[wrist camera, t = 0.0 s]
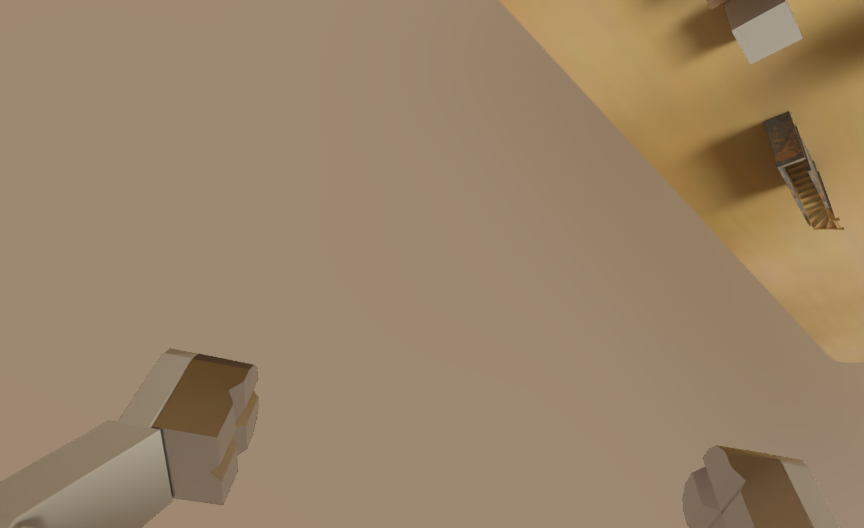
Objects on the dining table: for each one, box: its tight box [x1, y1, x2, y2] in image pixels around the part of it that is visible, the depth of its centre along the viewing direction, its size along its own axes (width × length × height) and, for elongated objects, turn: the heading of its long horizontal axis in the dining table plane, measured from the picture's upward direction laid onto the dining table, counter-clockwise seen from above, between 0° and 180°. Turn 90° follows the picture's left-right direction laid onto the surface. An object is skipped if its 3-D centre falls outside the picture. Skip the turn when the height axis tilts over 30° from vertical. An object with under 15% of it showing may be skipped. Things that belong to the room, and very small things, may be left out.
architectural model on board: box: [764, 111, 844, 230], centre depth 65 cm, size 11×3×10 cm, turn 41°
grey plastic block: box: [724, 0, 803, 65], centre depth 54 cm, size 4×4×4 cm
